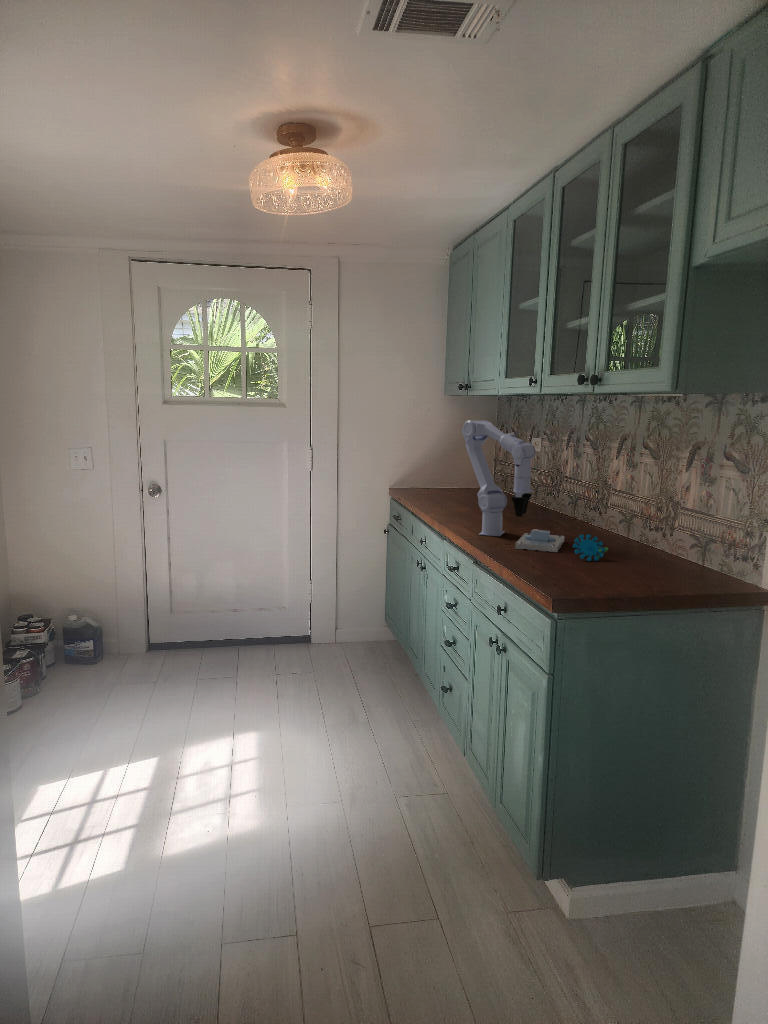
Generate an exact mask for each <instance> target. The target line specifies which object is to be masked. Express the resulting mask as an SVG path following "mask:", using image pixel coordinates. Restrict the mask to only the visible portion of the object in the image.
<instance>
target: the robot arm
mask: <svg viewBox="0 0 768 1024" xmlns="http://www.w3.org/2000/svg"><path fill="white" fill-rule="evenodd" d="M461 433H462V436H463V438H464V441H465V449H466V451H467V454H468V457H469V459H470V462H471V465H472V468H473V472H474V474H475V477H476V479H477V482H478V485H479V487H480V488H479V491H478V492H477V499H478V503H477V504H478V506H479V509H480V511H481V512H482V519H481V524H482V525H481V532H480V533H478V535H479V536H488V537H489V536H490V537H501V536H502V535H503V534H504V533H505V532H506V531H505V530H503V511H504V509H505V508H506V506H507V504H508V498H507V496H506V495H505V493H504V492H503V490H502V488H501V487H500V486H498V485H497V484H495V481H494V479H493V478H494V477H493V476H492V472H491V470H490V468H489V465H488V464H489V463H487V459H486V457H485V453H484V450H483V449H482V445H484V444H485V442H486V441H487V440H488V438H489V437H490V439H494V440H495V441H496V442H498V443H499V445H500V447H501V448H502V449H504V450H505V451H507V452H509V453H510V454H511V456H512V458H513V463H514V476H513V477H514V478H513V489H512V491H513V493H515V496H514V495H512V496H511V497H510V498H511V501H512V503H513V506H514V513H515V517H517V518H519V517H520V518H522V517H523V515H524V514H525V515H526V513H527V510H528V506H529V502H530V500H531V497H532V496H533V495H532V493H533V492H535V491H534V489H531V483H532V482H531V477H532V459H533V458H534V457H535V455H536V448H535V446H534V444H533V443H532V442H524V440H523V439H520V438H518V437H517V436H516V435H515V433H512V432H511V433H504V432H502V431H501V430H500V429H499V428H497V427H496V426H495V425H493V423H492V422H490V421H489V420H471V419H470V420H469V419H468V420H466V421H465V422H464V424H463V426H462V430H461Z"/></svg>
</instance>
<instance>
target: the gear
mask: <svg viewBox="0 0 768 1024" xmlns="http://www.w3.org/2000/svg"><path fill="white" fill-rule="evenodd" d="M591 537H592V535H591V534H588V533H587V534H586V537H585V535H584V534H579V537H575V538H574V540H573V541H574V543H573V544H572V548H573V549H574V553H575V555H579V554H580V555H579V558H580V560H584V558H586V557H587V558H586V561H587V562H589V561H590V562H591V561H593V560H594V562H598V561H599V560H600V558H603V556H604V554H605V553H607V552H608V551H609V548H608V547H607V546H605V547H603V544H604V543H603V541H601V540H600V541H599V542H597V541H598V537H597V536H594V537H593V538H592V539H591ZM584 538H586V539H584ZM592 557H594V558H593V560H592ZM598 557H599V558H598Z"/></svg>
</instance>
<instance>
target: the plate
mask: <svg viewBox="0 0 768 1024" xmlns="http://www.w3.org/2000/svg"><path fill="white" fill-rule="evenodd" d="M526 535H530V536H531V532H529V533H528V532H525V533H523V534H522V536H521V537H519V539H518V540H517V541H515V543H514V544H515V545H514V549H515V550H523V549H527V551H535V550H538V552H547V551H548V553H549V552H551V553H558V552H559V551H558V550H560V549H561V547H562V546H563V544H564V542H565V535H556V534H555V535H554V534H550V537H555V541H549V542H548V541H536V540H531V539H525V536H526ZM561 545H562V546H561Z"/></svg>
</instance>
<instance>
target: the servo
mask: <svg viewBox="0 0 768 1024" xmlns="http://www.w3.org/2000/svg"><path fill="white" fill-rule="evenodd" d="M530 533H531V536H530V535H526V536H525V539H531V540H536V541H548V542H549V541H555V537H550V535H551V534H550V533H551V530H542V529H537V528H536V529H534V528H533V529H531V531H530Z"/></svg>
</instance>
